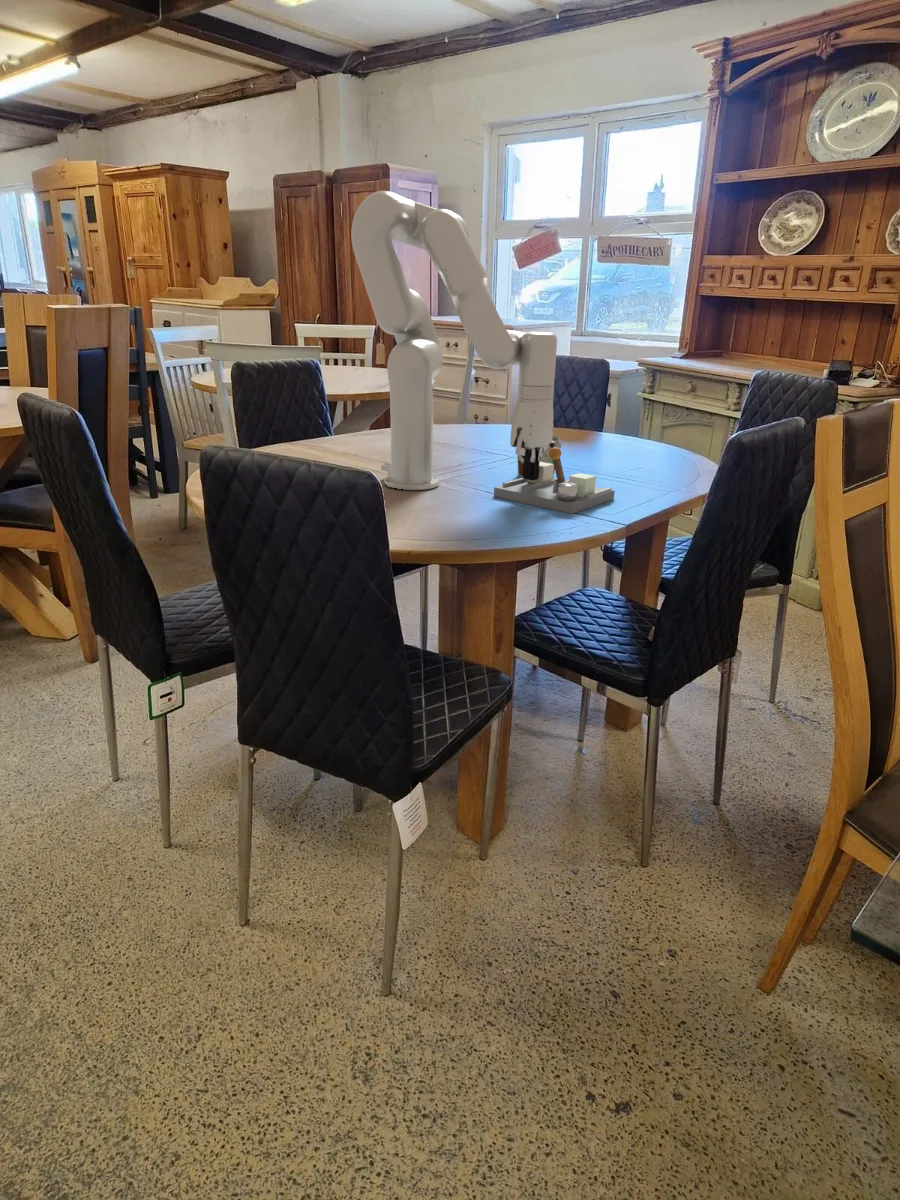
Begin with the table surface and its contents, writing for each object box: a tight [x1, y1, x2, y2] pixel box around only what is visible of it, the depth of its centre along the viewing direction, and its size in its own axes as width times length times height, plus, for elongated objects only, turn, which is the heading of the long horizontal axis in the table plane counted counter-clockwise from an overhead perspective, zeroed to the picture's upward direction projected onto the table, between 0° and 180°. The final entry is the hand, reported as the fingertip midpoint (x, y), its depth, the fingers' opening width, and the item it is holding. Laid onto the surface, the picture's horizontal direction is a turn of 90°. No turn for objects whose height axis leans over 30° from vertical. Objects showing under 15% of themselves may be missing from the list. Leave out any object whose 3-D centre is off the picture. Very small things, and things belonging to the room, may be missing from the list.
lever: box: [549, 447, 566, 484], centre depth 161 cm, size 3×3×10 cm
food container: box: [516, 434, 562, 478], centre depth 184 cm, size 12×6×10 cm, turn 47°
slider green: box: [568, 472, 597, 498], centre depth 160 cm, size 4×4×4 cm
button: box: [557, 483, 578, 502], centre depth 156 cm, size 4×4×3 cm
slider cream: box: [528, 462, 555, 483], centre depth 171 cm, size 4×4×4 cm
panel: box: [493, 477, 616, 515], centre depth 165 cm, size 20×17×4 cm
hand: (530, 478), depth 168 cm, fingers closed
